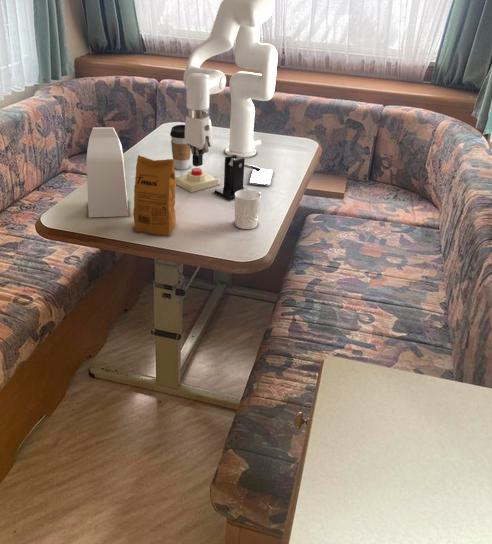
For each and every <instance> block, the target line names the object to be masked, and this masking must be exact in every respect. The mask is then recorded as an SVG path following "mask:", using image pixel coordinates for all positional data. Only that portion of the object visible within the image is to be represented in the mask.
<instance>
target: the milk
mask: <svg viewBox="0 0 492 544" xmlns="http://www.w3.org/2000/svg"><path fill="white" fill-rule="evenodd" d="M86 151H87V152H86V161H85V162H86V187H87V207H88V208H87V209H88V210H87V213H88V218H109V217H114V218H115V217H129V206H128V202H129V201H128V192H127V183H126V172H125V161H124V152H123V146H122V142H121V141H120V138H119V136H118V134H117V132H116V130H115V128H114V126H104V127H103V126H101V127H99V126H98V127H95V126H94V127H92V129H91V133H90V134H89V137H88V143H87V150H86Z"/></svg>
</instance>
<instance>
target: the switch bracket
mask: <svg viewBox="0 0 492 544" xmlns="http://www.w3.org/2000/svg"><path fill="white" fill-rule="evenodd" d="M231 158H234V159H236V160H233V166H230V165H229V162H230V159H231ZM245 158H246V157H239V158H238V157H237V155H225V156H224V170H223V171H224V173H223V187H219V188H217V189H214V191H213V192H214V194H216V195H217V196H220V197H221V198H224V199H226V200H228V201H233V200H235V192H236V191H239V190H244V189H248V188H246V187H244V178H245V167H244V164H246V163H245V160H246V159H245Z"/></svg>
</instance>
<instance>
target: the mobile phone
mask: <svg viewBox="0 0 492 544" xmlns="http://www.w3.org/2000/svg"><path fill="white" fill-rule="evenodd" d="M260 169H261V170H260V171H256V170H254V169H252V172H251V175H250V177H249V180H248V183H249V184H250V185H254V186H264V187H269V186H270V185H271V182H272V178H273V173H274V171H273V170H272V169H265V168H260Z"/></svg>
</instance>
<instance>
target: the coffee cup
mask: <svg viewBox="0 0 492 544" xmlns="http://www.w3.org/2000/svg"><path fill="white" fill-rule="evenodd" d="M169 136H170V145H171V154H172V159H173V160H174V170H180V171H181V170H183V171H184V170H188V169H190V164H191V163H190V162H191V155H192V153H191V148H190V147H189V146H188V145H187V142H186V141H185V124H176V125H174V126H172V127H171V128H170V132H169Z"/></svg>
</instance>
